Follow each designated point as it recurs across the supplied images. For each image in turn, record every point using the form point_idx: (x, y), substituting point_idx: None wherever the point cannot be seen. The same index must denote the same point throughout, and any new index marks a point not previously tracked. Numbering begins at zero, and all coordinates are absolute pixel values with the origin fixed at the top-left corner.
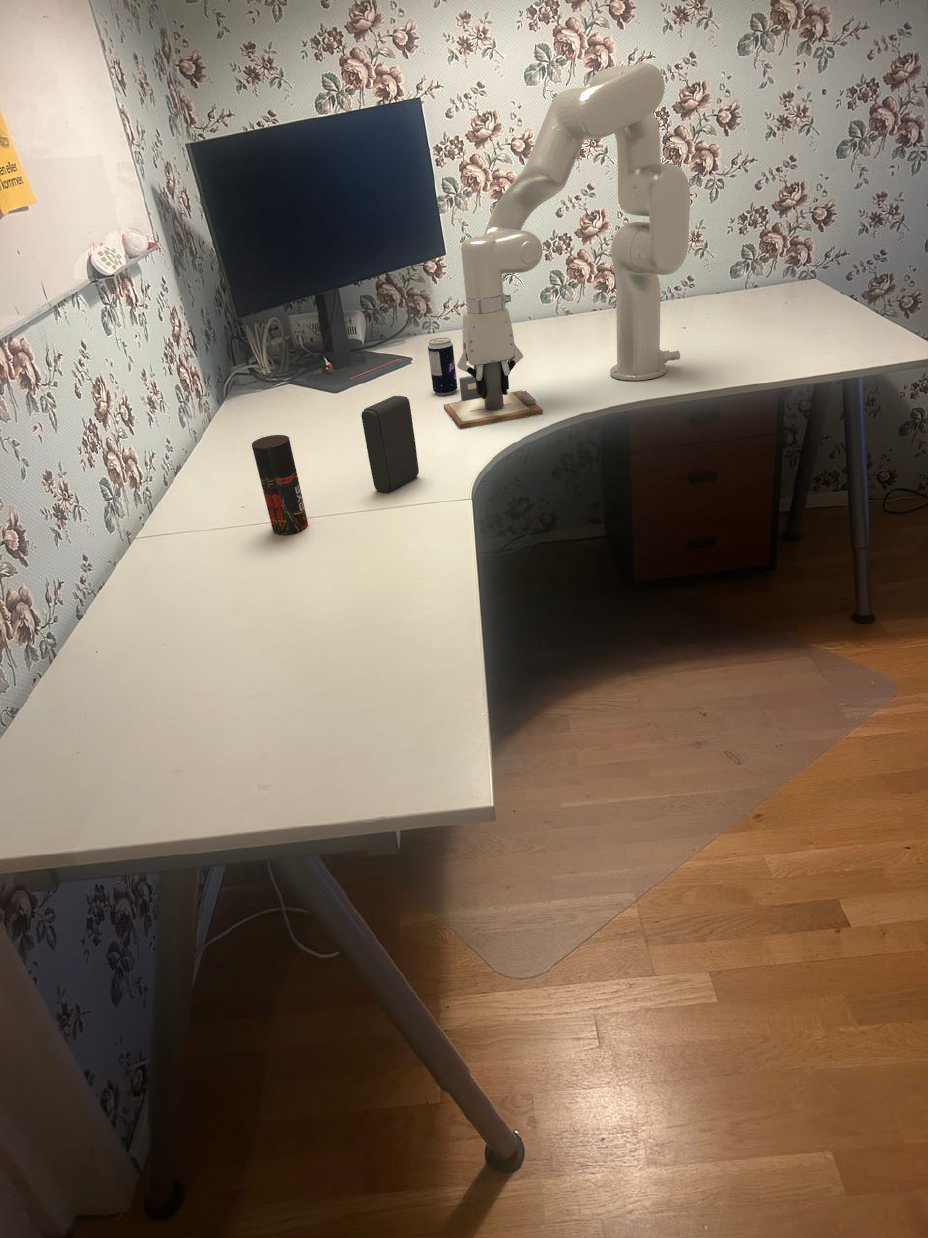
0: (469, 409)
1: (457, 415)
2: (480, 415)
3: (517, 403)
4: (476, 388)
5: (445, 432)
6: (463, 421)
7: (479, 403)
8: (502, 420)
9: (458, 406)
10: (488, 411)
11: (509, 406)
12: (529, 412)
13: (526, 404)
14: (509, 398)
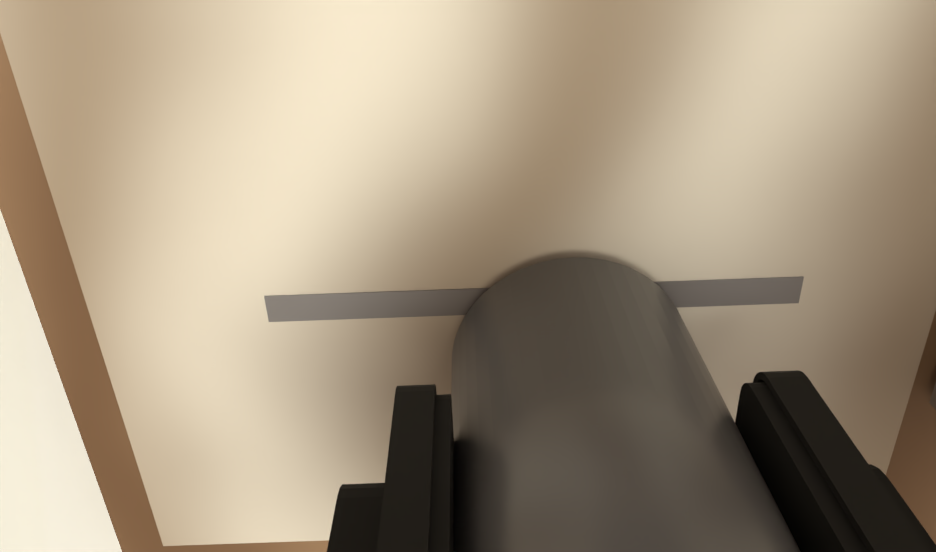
0: (263, 239)
1: (105, 346)
2: (362, 479)
3: (871, 312)
4: (332, 536)
5: (15, 547)
6: (172, 542)
7: (437, 54)
8: None
9: (108, 33)
10: None
11: (743, 362)
12: None
13: (932, 389)
14: (899, 61)
